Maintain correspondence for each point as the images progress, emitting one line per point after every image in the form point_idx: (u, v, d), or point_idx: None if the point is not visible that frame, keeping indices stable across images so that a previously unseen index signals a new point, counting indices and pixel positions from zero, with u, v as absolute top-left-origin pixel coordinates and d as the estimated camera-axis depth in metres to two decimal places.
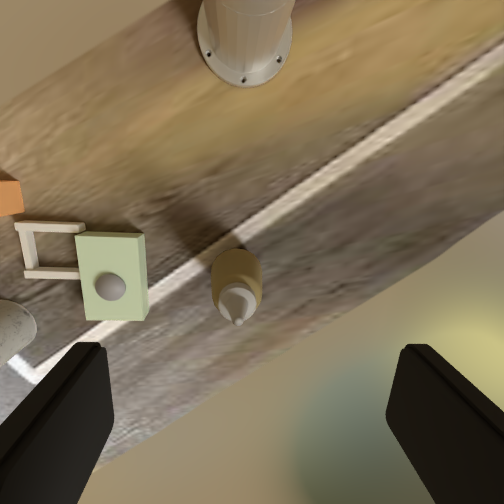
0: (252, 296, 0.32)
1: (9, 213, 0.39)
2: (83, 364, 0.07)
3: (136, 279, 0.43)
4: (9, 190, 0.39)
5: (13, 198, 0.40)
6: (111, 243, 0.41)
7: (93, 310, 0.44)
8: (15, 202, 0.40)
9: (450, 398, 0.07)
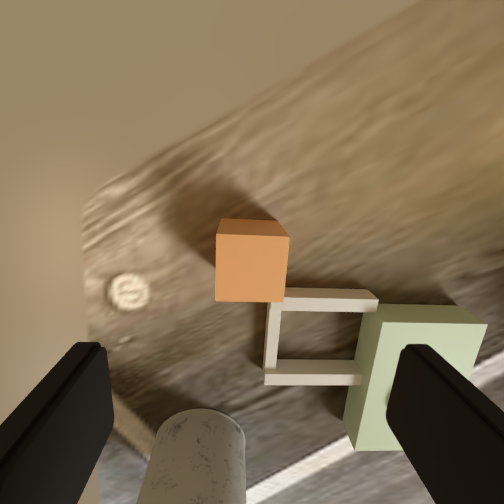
0: None
1: None
2: (83, 364, 0.07)
3: None
4: None
5: None
6: (439, 334, 0.23)
7: (371, 437, 0.26)
8: None
9: (450, 398, 0.07)
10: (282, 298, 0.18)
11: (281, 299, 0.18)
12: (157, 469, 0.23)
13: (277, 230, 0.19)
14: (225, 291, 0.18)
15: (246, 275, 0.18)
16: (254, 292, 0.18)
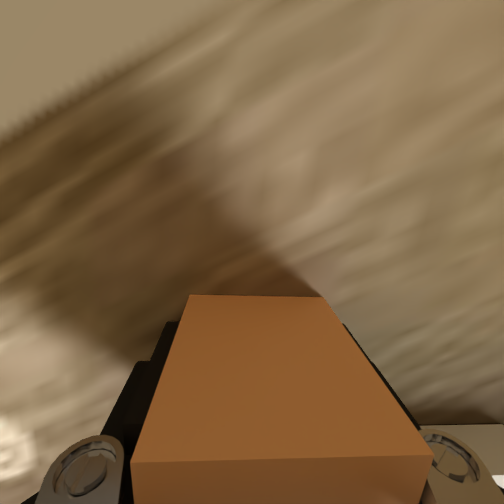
0: None
1: None
2: None
3: None
4: None
5: None
6: None
7: None
8: None
9: None
10: None
11: None
12: None
13: (354, 375, 0.06)
14: None
15: None
16: None
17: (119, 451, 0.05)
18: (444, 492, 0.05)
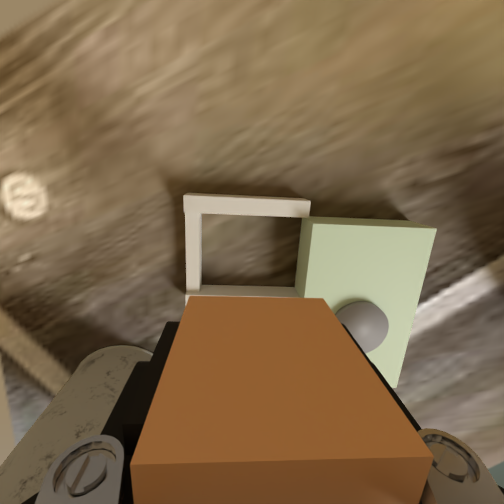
0: None
1: None
2: None
3: (408, 311, 0.21)
4: None
5: None
6: (381, 240, 0.19)
7: None
8: None
9: None
10: None
11: None
12: (53, 401, 0.20)
13: (354, 376, 0.06)
14: None
15: None
16: None
17: (119, 451, 0.05)
18: (444, 492, 0.05)
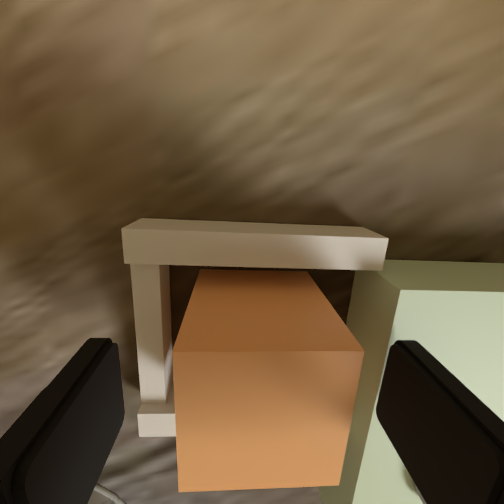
0: None
1: None
2: (97, 359, 0.07)
3: None
4: None
5: None
6: None
7: None
8: None
9: (435, 392, 0.07)
10: (337, 478, 0.08)
11: (334, 479, 0.08)
12: None
13: (321, 315, 0.08)
14: (202, 472, 0.07)
15: (252, 438, 0.07)
16: (270, 470, 0.08)
17: None
18: None
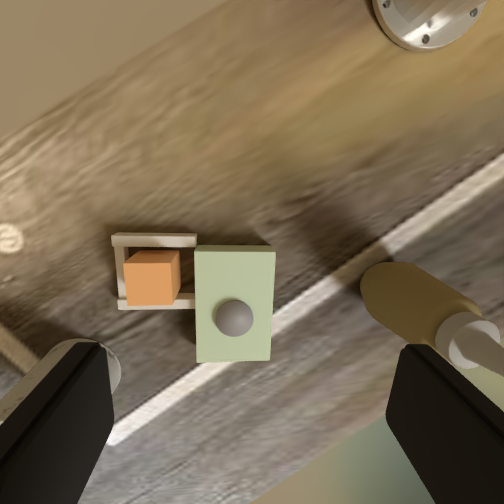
0: (497, 332, 0.22)
1: (176, 293, 0.31)
2: (83, 364, 0.07)
3: (267, 306, 0.32)
4: (176, 265, 0.31)
5: (177, 273, 0.32)
6: (240, 260, 0.30)
7: (208, 349, 0.33)
8: (178, 277, 0.32)
9: (450, 398, 0.07)
10: (171, 302, 0.28)
11: (171, 303, 0.29)
12: (26, 374, 0.29)
13: (168, 258, 0.29)
14: (133, 299, 0.28)
15: (145, 288, 0.28)
16: (152, 299, 0.28)
17: None
18: None
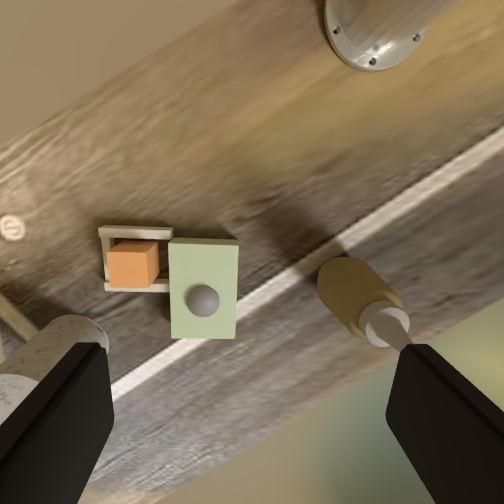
0: (406, 317, 0.27)
1: (154, 278, 0.36)
2: (83, 364, 0.07)
3: (232, 292, 0.37)
4: (154, 254, 0.36)
5: (155, 262, 0.37)
6: (208, 252, 0.35)
7: (181, 327, 0.38)
8: (156, 265, 0.37)
9: (450, 398, 0.07)
10: (147, 285, 0.34)
11: (147, 286, 0.34)
12: (28, 341, 0.35)
13: (145, 248, 0.34)
14: (115, 282, 0.33)
15: (125, 273, 0.33)
16: (131, 282, 0.34)
17: None
18: None
